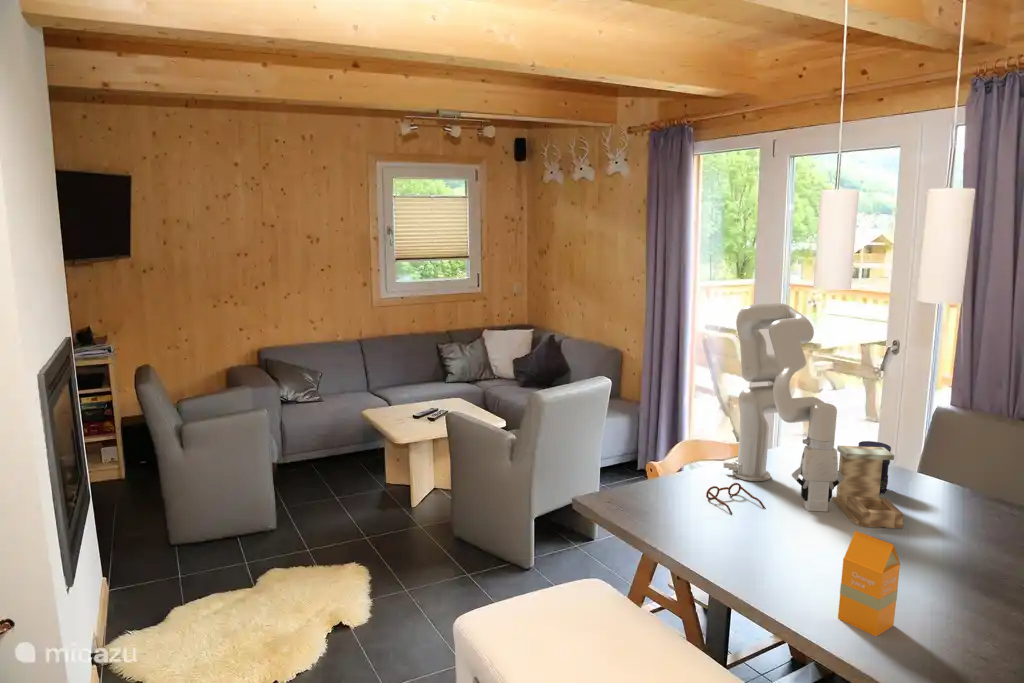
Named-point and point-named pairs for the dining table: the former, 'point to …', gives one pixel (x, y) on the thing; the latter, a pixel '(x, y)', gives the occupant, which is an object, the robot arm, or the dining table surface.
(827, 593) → the dining table surface
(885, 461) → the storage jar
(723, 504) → the glasses
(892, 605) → the orange juice
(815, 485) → the skincare box
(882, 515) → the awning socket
